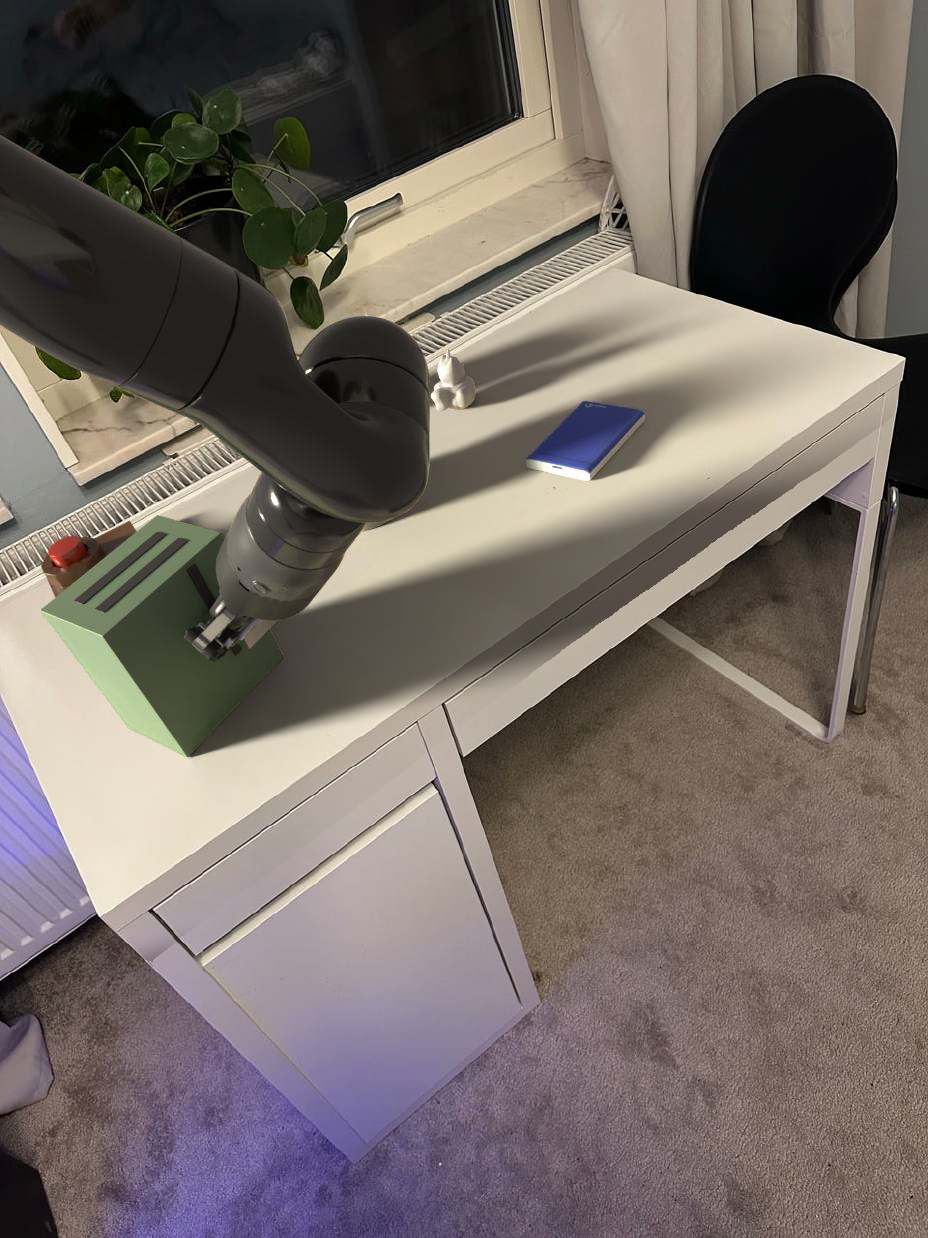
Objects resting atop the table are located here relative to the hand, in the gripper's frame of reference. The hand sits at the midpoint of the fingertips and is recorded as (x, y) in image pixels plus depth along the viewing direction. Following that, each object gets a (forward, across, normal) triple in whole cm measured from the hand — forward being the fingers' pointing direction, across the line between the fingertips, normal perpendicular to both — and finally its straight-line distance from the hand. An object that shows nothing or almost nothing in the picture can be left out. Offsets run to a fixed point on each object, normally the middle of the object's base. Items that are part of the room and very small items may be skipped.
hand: (231, 630), depth 72 cm
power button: (+26, -4, -20) cm, 33 cm away
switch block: (+28, -6, -17) cm, 34 cm away
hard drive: (-2, -44, +13) cm, 46 cm away
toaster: (+9, +2, +2) cm, 10 cm away
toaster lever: (-2, 0, +1) cm, 2 cm away
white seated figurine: (+12, -48, -1) cm, 49 cm away
